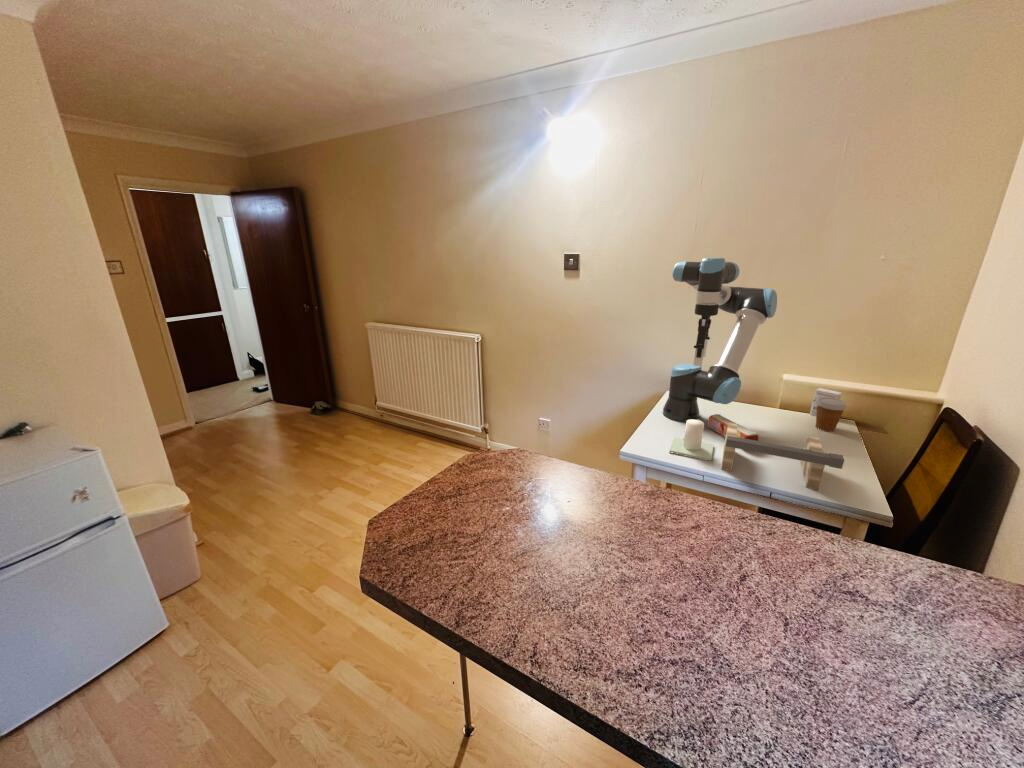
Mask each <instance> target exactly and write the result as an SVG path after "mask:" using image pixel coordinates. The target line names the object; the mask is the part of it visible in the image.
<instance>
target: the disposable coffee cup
mask: <svg viewBox="0 0 1024 768" xmlns="http://www.w3.org/2000/svg"><path fill="white" fill-rule="evenodd" d="M846 409H847V404H846V402H845V401H843V400H842V399H840V400H839V399H835V398H828V397H822V398H819V399H818V401H817V416H815V428H816V427H817V428H816V429H818V428H819V429H818V430H820V429H821V430H820V431H823V430H824V432H829V431H832V432H834V430H836V428H837V426H838V424H839V422H840V419H841V417H842V415H843V413H844V410H846Z"/></svg>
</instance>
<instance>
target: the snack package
mask: <svg viewBox="0 0 1024 768" xmlns="http://www.w3.org/2000/svg"><path fill="white" fill-rule="evenodd" d="M728 423H732V424H737V437H739V438H744V439H750V440H756V441H759V438H760V437H759V434H758V433H756V432H754V431H751V430H750V429H748V428H745V426H742V425H740V424H738V423H736V422H734V421H732V420H730V419H728V418H726V417H724V416H723V415H721V414H719V413H715V414H711V415H710V416H709V417H708V421H707V427H708V428H709V429H710V430H712V431H714V432H716V433H718V435H720V436H722V437H724V438H726V432H727V426H728Z"/></svg>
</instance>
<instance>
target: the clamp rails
mask: <svg viewBox="0 0 1024 768" xmlns="http://www.w3.org/2000/svg"><path fill="white" fill-rule="evenodd" d="M737 424H738V423H736V424H732V423H728V426H727V432H726V438H725V437H724V438H725V439H724V445H723V452H722V462H721V470H723V469H724V471H729V472H732V470H733V464H734V458H735V453H736V448H733V447H727V446H726V440H727V436H733V437H737ZM804 449H806V450H812V451H817V452H823V453H825V451H824V449H823V447H822V443H821V440H820V438H819V437H818V436H817V437H815V436H810V435H807V437H806V441H805V447H804ZM800 465H801V468H802V469H801V470H802V474H803V478H804V479H803V480H804V482H805V486H806V487H805V488H809V489H813V490H817V491H818V490H819V488H820V485H821V481H822V477H823V474H824V470H825V466H826V465H822V464H817V463H812V462H806V461H801V462H800Z"/></svg>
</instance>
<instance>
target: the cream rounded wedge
mask: <svg viewBox="0 0 1024 768" xmlns="http://www.w3.org/2000/svg"><path fill="white" fill-rule="evenodd" d="M685 422H686V423H685V430H684V436H683V437H684V438H683V439H684V444H683V447H684V448H685V449H687V450H691V451H698V450H700V449H701V443H702V442H703V434H704V428H705V427H704V426H705V422H703V421H701V420H700V419H697V420H695V419H690V420H687V421H685Z"/></svg>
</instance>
